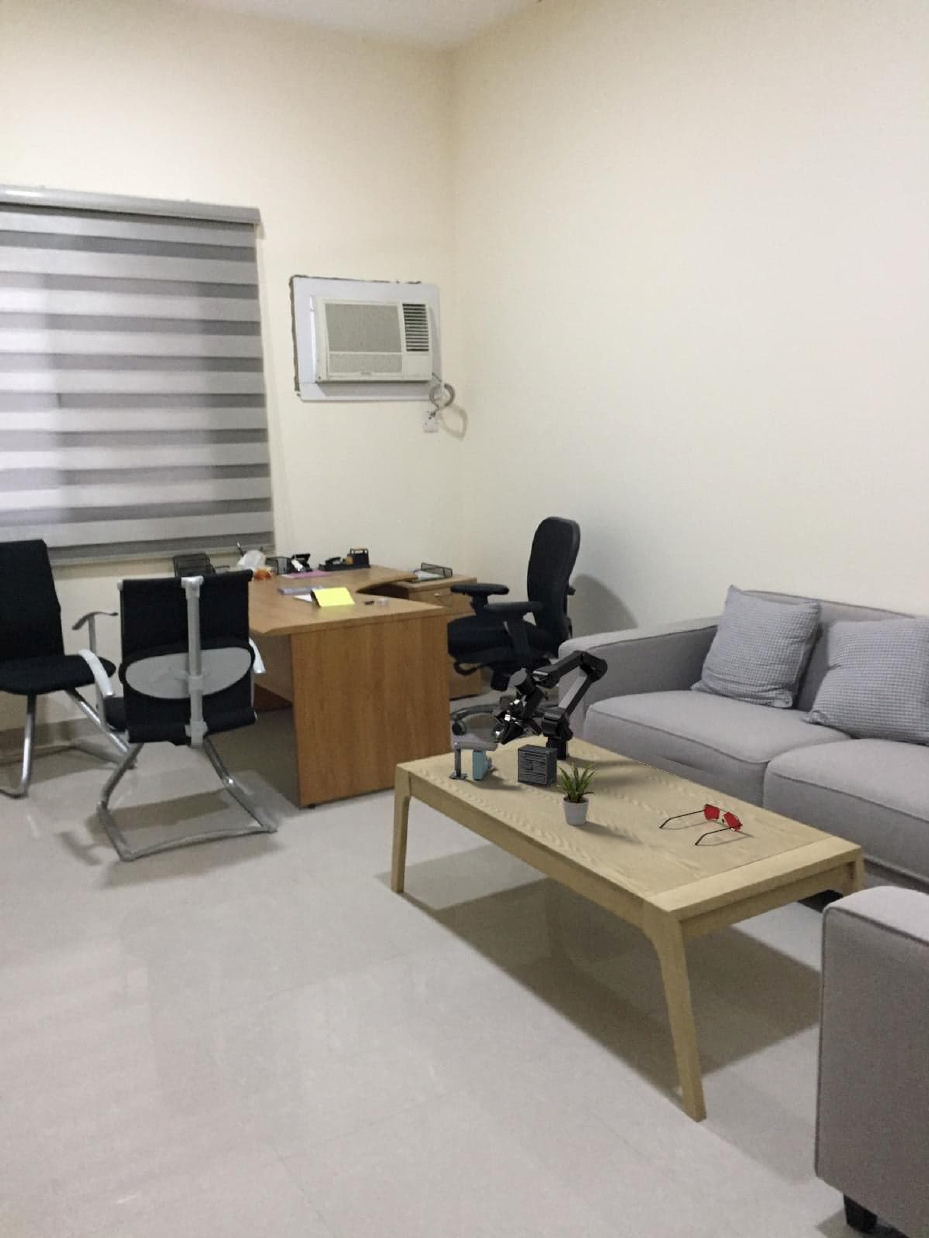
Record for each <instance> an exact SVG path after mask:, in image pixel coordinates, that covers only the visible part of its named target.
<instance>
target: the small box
mask: <svg viewBox="0 0 929 1238" xmlns="http://www.w3.org/2000/svg"><path fill="white" fill-rule="evenodd" d="M556 765H557V766H558V759H557V749H556V748H549V747H546V746H542V745H534V744H524V745H523V746H520V747H518V748H517V783H523V784H528V785H535V786H541V787H545V788H549V787H550V786H552V785H555V784H556V783H557V782H558V775H557V774H558V767H557V766H556ZM554 773H555V774H554Z"/></svg>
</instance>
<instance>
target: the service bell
mask: <svg viewBox="0 0 929 1238" xmlns="http://www.w3.org/2000/svg"><path fill="white" fill-rule="evenodd" d="M487 756H488V754H486V759H487ZM495 768H496V766H495V765H494V764H492V767H490V768H488V769H487V770H488V771H493V770H495Z"/></svg>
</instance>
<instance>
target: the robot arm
mask: <svg viewBox="0 0 929 1238" xmlns="http://www.w3.org/2000/svg"><path fill="white" fill-rule="evenodd" d="M577 668H578V671H579V672H578V677H577V678H576V680H574V682H573V684H572V685H571V686H570V688H569V690H568V691H567V693H566V694H565V695H564V696H563V698H562V700H561V701H560V703H558V705H557V707H556V708H552V707H549V708H548V709H547V710H546V712H545V713H544V715H542V716H541V717H542V719H541V720H540V724H539V723H538V722H537V721H536V720H535V719H534V718H532V716H536V715H537V714H538V712H537V711H536V710H537V709H538V708H539V706H540V705H541V704H542V702H543V701H547V702H548V701H549V696H548V694H549V693H548V691H545V690H543V689H547V690H552V689H553V688H555V687H556V686H557V685H558V684H559V683H560V680H561V679H562V678H563V677H564V676H566V675H567V674H569V673H571V672H572V671H574V670H576V669H577ZM607 671H608V663H607V660H606V659H604V658H600V657H597V656H596V655H593V654H591V653H589V652H588V651H586V650H580V649H575V650H572V652H571V653H570V654H568V655H566V656H565V657H564V658H561V659H560V660H558V661H556V662H555V663H554V664H551V665H547V666H546V665H545V666H541V667H539V668H536V669H534V671H533V672H532V673H530V670H529V669H528V668H524V667H521V669H520V670H518V671H516V672H514V674H512V675H511V676H510V679H509V682H510V684H511V686H512V687H513V688H514V689H515V690H516V691H517V693H519V695H520V696H522V697H521V699H515V700H514V701H513V700H510V699H507V698H502V700H501V702H500V705H499V708H495V709H493V711H492V713H491V716H493V718H495V719H496V721H497V722H498V723H499V724H501V725H502V726H503V731H502V736H501V740H500V744H501V746H505V745H507V744H509V743H510V742H512V741H513V740H516V739H518V738H519V737H522V736H523V735H527V732H526V731H527V730H528V729H529V730H531V734H532V735H533V736H536V737H540V736H541V734H542V735H543V737H544V738H547V741H546V742H545V747H549V748H556V749H557V760H567V758H568V756H570V753H569V741H571V740H572V739H573V736H574V732H573V730H572V729H571V728H570V726H571V725H570V724H571V719H570V718H571V715H572V714H573V712H574V711H575V709H576V708H577V706H578V705H579V704H580V702H581V700H582V699H583V698H584V696H585V694H586V693H587V692H588V690H589V688H590V687H591V685H593V684H594V683H597V681H600V680H601V679H602V678H603V677H604V676H605V675H606V674H607ZM542 688H543V689H542Z"/></svg>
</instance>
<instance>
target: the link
mask: <svg viewBox="0 0 929 1238" xmlns="http://www.w3.org/2000/svg"><path fill="white" fill-rule="evenodd" d="M471 752H472V755H471V757H472V760H471V761H472V764H471V765H472V772H471V773H472V779H473V780H482V779H483V778H484V776H485V774H486V772H487V771H486V770H487V769H488V768H490V767H492V765H493V758H492V757H490V756H488V755H487V751H481V750H472V751H471ZM486 755H487V759H486Z"/></svg>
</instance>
